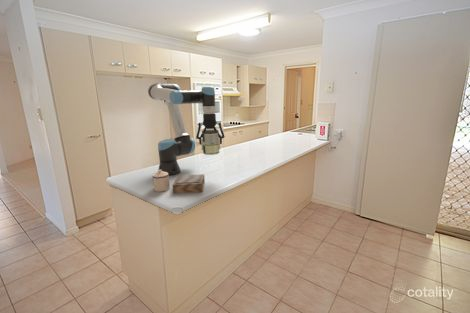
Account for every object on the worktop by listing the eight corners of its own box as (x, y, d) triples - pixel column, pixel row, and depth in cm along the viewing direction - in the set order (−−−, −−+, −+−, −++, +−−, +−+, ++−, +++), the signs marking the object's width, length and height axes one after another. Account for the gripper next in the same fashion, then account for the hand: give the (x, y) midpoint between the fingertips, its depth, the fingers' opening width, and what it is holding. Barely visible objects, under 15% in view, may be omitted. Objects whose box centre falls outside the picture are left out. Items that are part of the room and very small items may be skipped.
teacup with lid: (173, 188, 134) (171, 169, 131) (158, 193, 128) (156, 173, 125) (163, 183, 142) (161, 165, 139) (148, 187, 136) (146, 169, 133)
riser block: (173, 193, 128) (172, 184, 126) (178, 182, 143) (178, 174, 142) (202, 192, 128) (201, 182, 127) (204, 181, 144) (204, 173, 142)
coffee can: (199, 153, 143) (198, 131, 140) (211, 150, 151) (210, 129, 148) (211, 155, 137) (210, 132, 134) (222, 152, 145) (222, 130, 141)
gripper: (189, 114, 134) (192, 151, 139) (228, 113, 135) (229, 150, 140) (191, 113, 141) (193, 148, 147) (227, 112, 142) (228, 147, 148)
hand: (211, 149), depth 144 cm, fingers closed on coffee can, 10 cm apart
